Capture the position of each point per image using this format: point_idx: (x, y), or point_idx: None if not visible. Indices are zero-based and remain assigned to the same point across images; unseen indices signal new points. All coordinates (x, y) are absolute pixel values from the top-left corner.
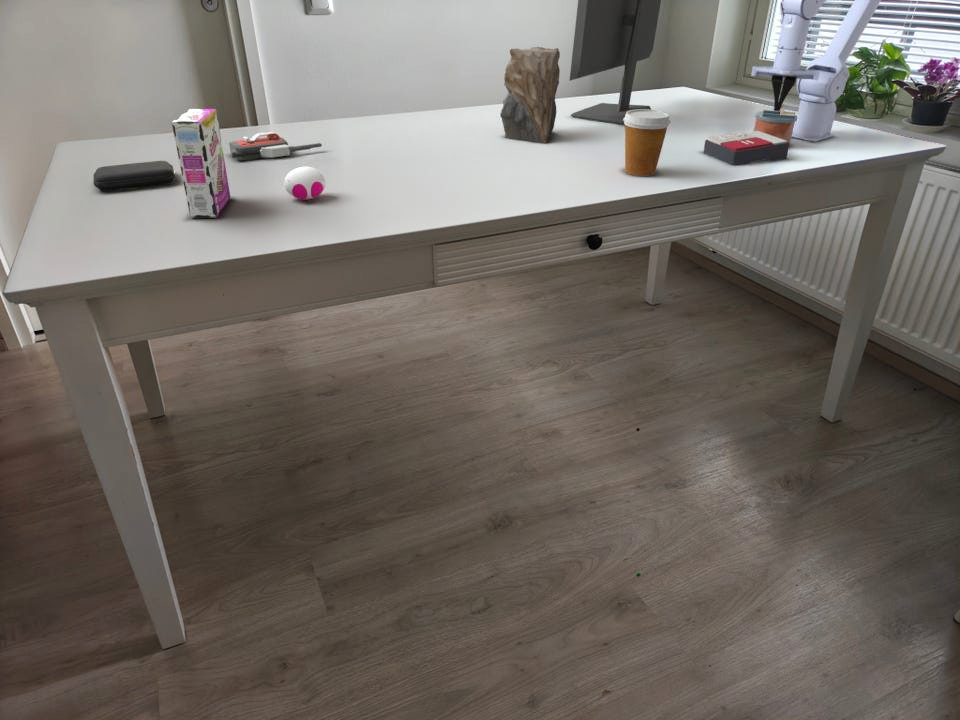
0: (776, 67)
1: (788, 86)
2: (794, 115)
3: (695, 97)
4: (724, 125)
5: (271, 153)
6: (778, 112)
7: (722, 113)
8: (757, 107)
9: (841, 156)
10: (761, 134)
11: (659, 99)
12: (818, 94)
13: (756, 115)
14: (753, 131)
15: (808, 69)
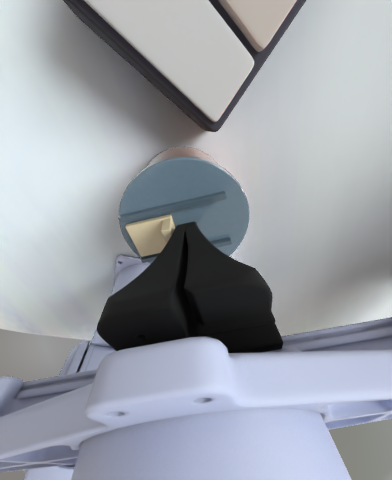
0: (316, 445)
1: (143, 284)
2: (125, 226)
3: None
4: (283, 272)
5: None
6: None
7: (284, 320)
8: None
9: (5, 177)
10: (191, 58)
11: None
12: (113, 351)
13: (244, 194)
14: (228, 101)
15: (60, 464)
